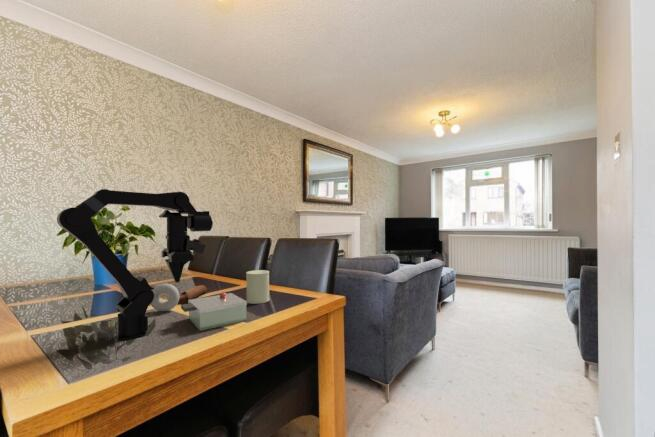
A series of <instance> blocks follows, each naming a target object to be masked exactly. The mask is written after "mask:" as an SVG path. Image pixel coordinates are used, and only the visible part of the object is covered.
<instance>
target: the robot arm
mask: <svg viewBox="0 0 655 437" xmlns="http://www.w3.org/2000/svg"><path fill="white" fill-rule="evenodd" d="M107 205H115V206H116V205H117V206H119V205H120V206H139V207H140V206H141V207H153V208H154V207H155V208H159V209H163V210H164V211H163V212H162V213H160V214H159V215H158V217H159V218H160V219H161V218H162V219H163V218H166V235H165V239H166V248H163V249H162V250H161V258H165V257H167V259H164V261H165V263H166V266H167V267H168V269H169V271H170V273H171V276H172V278H173V281H174V282H175V283H180V280H181V276H182V273H183V270H184V266H185V265H186V264H187V263H188V262H194V261H195V260H196V258H195V257H196V256H195V255H196V254H195V253H194V252H196V253H199V254H201V255H204V254H205V251H206V249H207V247H208V245H207V244H204V243H201V240H200V239H196V238H193V239H191V237H190V235H189V234H188V229H189V230H190V232H193V233H194V232H196V233H197V232H210V231H212V229H213V219H212V216H211V214H210V211H209V210H203V211H197V209H195V207H194V205H193V204H192V203H191V201H190V197H189V196H188V195H187V193H186V192H184V191H174V192H173V191H171V192H162V193H149V192H148V193H147V192H136V191H125V190H124V191H122V190H112V189H111V190H110V189H107V188H102V189H100V190H97V191H95V192H94V193H93V194H92V195H91V196H90V197H88V198H87V199H85V200H83V201H82V202H80V203H79V204H78V205H76V206H75V207H69V208H65V209H63V210H61V211H60V212H59V213H58V214H57V216H56V223H57V224H58V226H59V227H60V228H62V229H63V230H64V231H65V232H67V233H68V234H69V235H70V236H72V237H73V238H74V239H76V240H77V241H79V242H80V243H82V245H83V246H84V247H85V248H86V249H87V251H88V252H90V254H92V255H93V258H95V259H96V260H97V262H98V263H100V265H101V266H102V268H104V269H105V271H107V273H108V274H109V275H110V276H111V278H112V279H113V280H114V281H115V282H116V283H117V285H118V288H119V289H120V292H121V294H122V296H123V297H122V298H121V299H120V300H119V301H118V302H117V303H116V304H115V308H116V310H117V312H118V313H117V331H116V339H117V341H119V342H120V341H124V340H130V339H133V338H139V337H143V336H144V337H145V336H146V335H147V332H148V316H147V314H146V313H147V311H148V308H149V306H151V303H152V301H153V299H154V293H153V291H152V290H153V289H154V287H152V286H151V285H150V284H149V282H148V281H147V278H146V277H143V276H142V275H138V276H136V277H135V276H134V275H133V274H132V273H131V271H129V269H128V268H127V267H126V265H125V264H124V263H123V262H122V261H121V260H120V259H119V257H118V256H117V255H116V254H115V253H114V252H113V250H112V249H111V248H110V247H109V245H108V244H107V243H106V242H105V241H104V239H103V238H102V237H101V236H100V234H99V232H98V230H97V226H96V225H95V223H94V221H93V219H92V217H94V216H95V215H96V214H97V213H99V212H100V211H101V210H102V209H103V208H105V207H106V206H107ZM171 211H172V212H171ZM175 211H176V212H175Z"/></svg>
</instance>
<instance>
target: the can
mask: <svg viewBox="0 0 655 437" xmlns="http://www.w3.org/2000/svg"><path fill="white" fill-rule="evenodd" d="M245 273H246V274H245V275H246V276H245V277H246V282H245V283H246V298H245V299H246V300H245V301H247V304H250V305H251V304H255V305H257V304H258V305H259V304H264V303H267V302H270V270H266V269H256V270H249V271H245Z"/></svg>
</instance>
